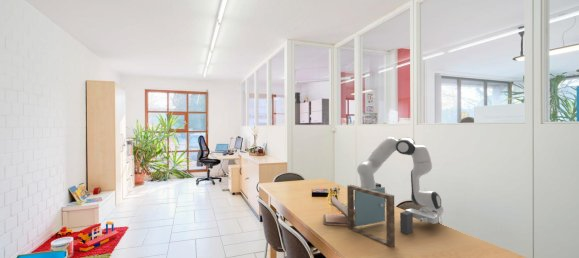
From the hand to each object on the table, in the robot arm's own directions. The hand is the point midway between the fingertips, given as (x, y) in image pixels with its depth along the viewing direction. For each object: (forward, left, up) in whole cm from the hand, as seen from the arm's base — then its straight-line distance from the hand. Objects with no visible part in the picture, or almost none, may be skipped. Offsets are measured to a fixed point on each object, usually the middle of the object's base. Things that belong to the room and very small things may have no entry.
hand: (414, 218), depth 168 cm
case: (-39, -29, -7) cm, 49 cm away
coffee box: (-52, +26, -7) cm, 59 cm away
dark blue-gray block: (0, -8, -7) cm, 11 cm away
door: (-19, -19, -5) cm, 27 cm away
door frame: (-9, -32, -7) cm, 34 cm away
